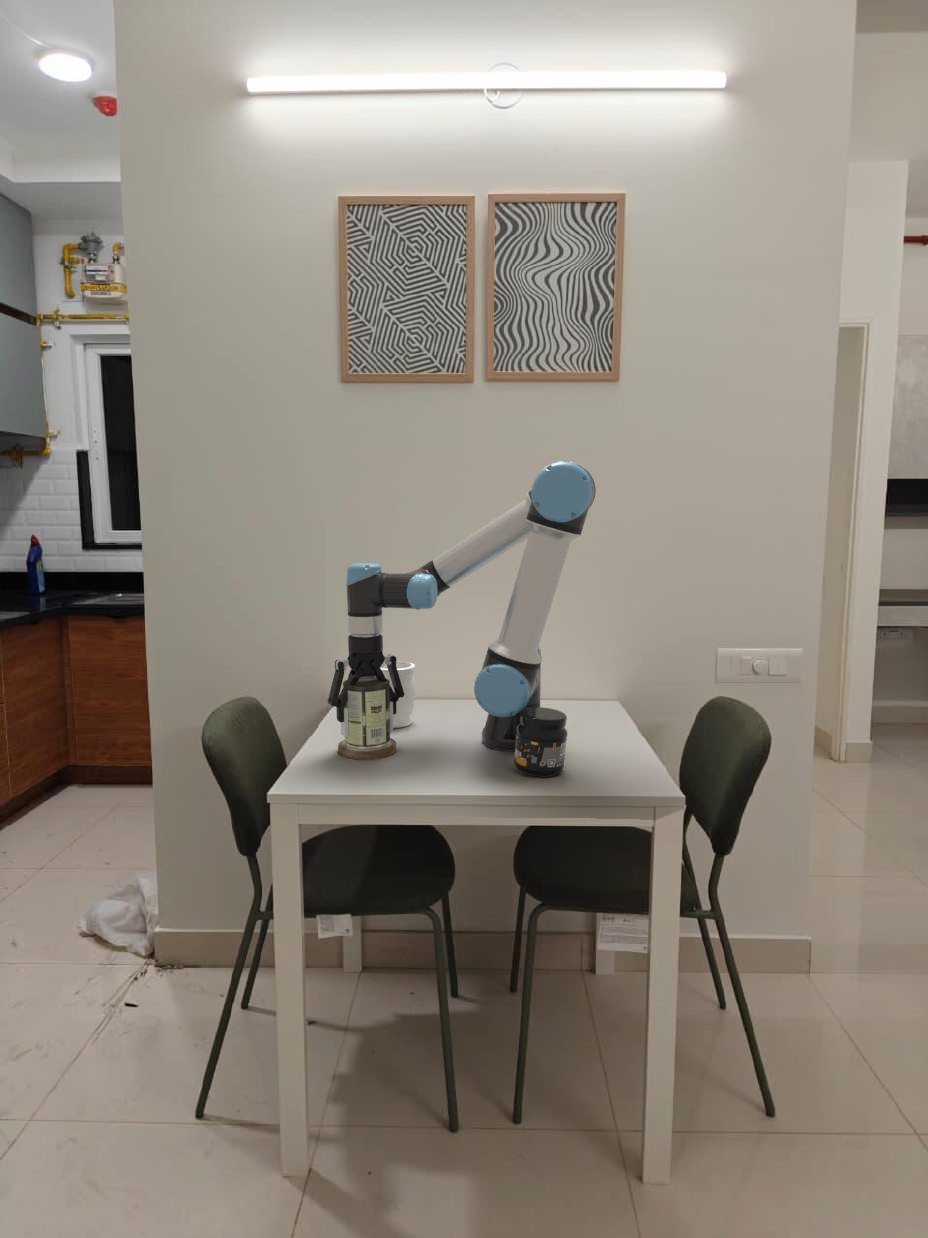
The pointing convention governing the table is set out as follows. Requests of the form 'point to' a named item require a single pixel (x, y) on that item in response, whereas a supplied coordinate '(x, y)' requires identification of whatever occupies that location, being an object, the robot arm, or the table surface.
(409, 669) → the jar
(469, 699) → the table surface
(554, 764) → the supplement container
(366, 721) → the coffee can
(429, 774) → the table surface
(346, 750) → the thin brown ring
